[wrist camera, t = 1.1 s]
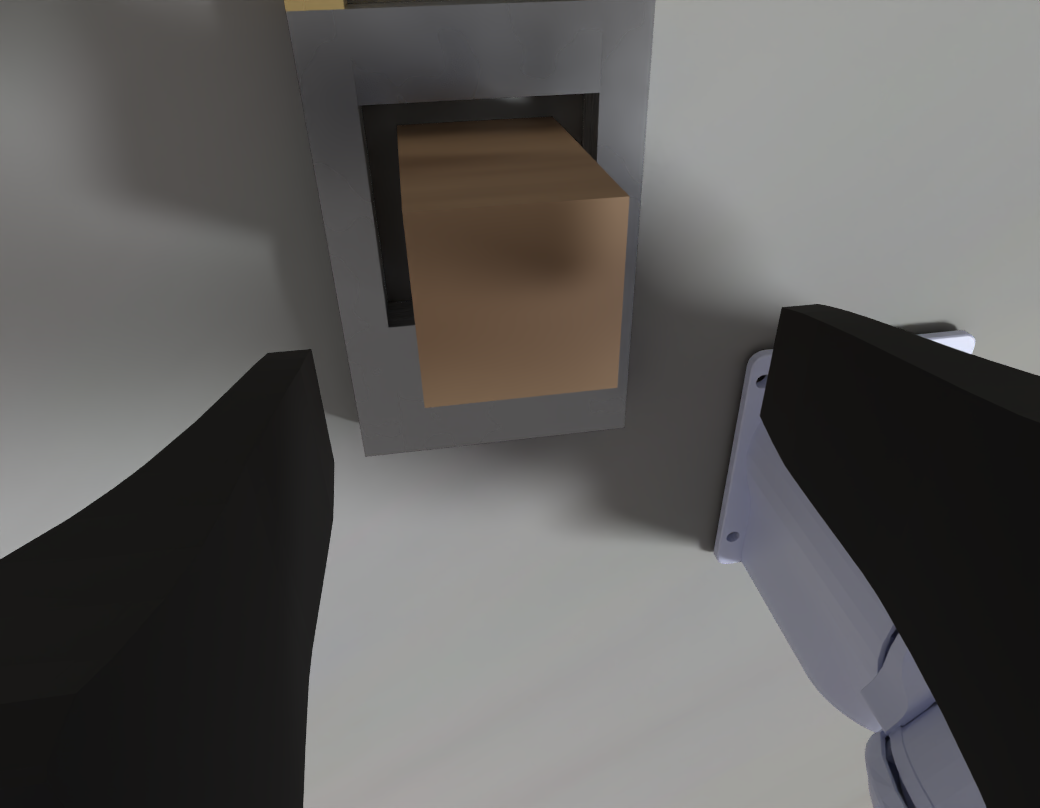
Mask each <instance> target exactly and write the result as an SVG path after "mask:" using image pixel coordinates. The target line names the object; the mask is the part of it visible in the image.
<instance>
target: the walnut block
mask: <svg viewBox="0 0 1040 808" xmlns="http://www.w3.org/2000/svg"><path fill="white" fill-rule="evenodd" d="M397 138H398V154H399V170H400V185H401V201H402V215H403V224H404V232H405V241H406V250H407V258H408V267H409V276H410V284H411V293H412V302H413V310H414V319H415V328H416V337H417V345H418V354H419V363H420V371H421V380H422V389H423V397H424V406H425V408H430V407H439V406H449V405H458V404H468V403H477V402H487V401H496V400H506V399H515V398H525V397H534V396H544V395H553V394H563V393H572V392H582V391H591V390H601V389H610V388H617V385H618V370H619V354H620V339H621V323H622V307H623V292H624V276H625V260H626V245H627V229H628V213H629V198H630V196H629V195H628V194H627V193H626V192H625V191H624V190H623V189H622V188H621V187H620V186H619V185H618V184H617V183H616V182H615V181H614V180H613V179H612V178H611V177H610V176H609V175H608V174H607V173H606V171H605V170H604V169H603V168H602V167H601V166H600V165H599V164H598V163H597V162H596V161H595V160H594V159H593V158H592V157H591V156H590V155H589V154H588V153H587V152H586V151H585V150H584V149H583V148H582V147H581V146H580V145H579V143H578V142H577V141H576V140H575V139H574V138H573V137H572V136H571V135H570V134H569V133H568V132H567V131H566V130H565V129H564V128H563V127H562V126H561V125H560V124H559V123H558V122H557V121H556V120H555V119H554V118H553V117H552V116H549V117H531V118H514V119H496V120H479V121H461V122H443V123H426V124H408V125H397Z"/></svg>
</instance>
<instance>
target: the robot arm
mask: <svg viewBox="0 0 1040 808" xmlns="http://www.w3.org/2000/svg"><path fill="white" fill-rule="evenodd" d="M975 342H976V341H975V338H974V337H973V336H972V335H971V334H969V333H968V332H966V331H964V330H956V331H947V332H937V333H927V334H917V335H916V334H913V333H910V332H907V331H904V330H902V329H899V328H896V327H893V326H890V325H888V324H885V323H882V322H879V321H876V320H873V319H870V318H868V317H864V316H861V315H858V314H855V313H852V312H849V311H845V310H842V309H838V308H834V307H830V306H825V305H821V304H814V305H803V306H792V307H782V309H781V314H780V319H779V324H778V329H777V333H776V338H775V343H774V348H773V349H768V350H762V351H758V352H757V353H755V354H754V355H753V356H752V357H751V358H750V359H749V361H748V364H747V368H746V374H745V380H744V385H743V391H742V396H741V402H740V407H739V413H738V419H737V424H736V430H735V435H734V441H733V446H732V452H731V458H730V463H729V469H728V474H727V480H726V485H725V491H724V497H723V502H722V508H721V513H720V519H719V524H718V530H717V536H716V541H715V547H714V555H715V557H716V559H717V560H718V562H720V563H722V564H729V563H736V562H742V563H743V565H744V567H745V568H746V570H747V572H748V573H749V575H750V577H751V579H752V580H753V582H754V584H755V586H756V587H757V589H758V591H759V593H760V594H761V596H762V598H763V600H764V601H765V603H766V605H767V606H768V608H769V610H770V612H771V613H772V615H773V617H774V619H775V620H776V622H777V624H778V626H779V627H780V629H781V631H782V633H783V634H784V636H785V638H786V640H787V641H788V643H789V645H790V646H791V648H792V650H793V652H794V653H795V655H796V657H797V659H798V660H799V662H800V664H801V666H802V667H803V669H804V671H805V673H806V674H807V676H808V678H809V679H810V680H811V682H812V683H813V685H814V686H815V687H816V689H817V690H818V691H819V692H820V693H821V694H822V695H823V696H824V698H825V699H826V700H828V701H829V702H830V703H831V704H832V705H833V706H834V707H835V708H837V709H838V710H839V711H840V712H842V713H843V714H844V715H846V716H847V717H849V718H850V719H852V720H853V721H855V722H856V723H858V724H860V725H861V726H863V727H865V728H867V729H869V730H871V731H873V732H875V733H874V734H873V735H872V736H871V737H870V739H869V740H868V742H867V744H866V749H865V761H866V769H867V773H868V785H869V792H870V796H871V800H872V804H873V807H874V808H1040V376H1038V375H1034V374H1031V373H1028V372H1025V371H1022V370H1018V369H1015V368H1012V367H1009V366H1006V365H1003V364H999V363H996V362H993V361H990V360H987V359H984V358H981V357H978V356H975V355H972V352H973V349H974V347H975ZM762 375H766V376H765V378H764V379H763V380H762V381H759V382H756V381H757V379H758V378H759V377H760V376H762ZM333 506H334V458H333V453H332V449H331V444H330V439H329V434H328V429H327V424H326V419H325V414H324V409H323V405H322V400H321V395H320V390H319V385H318V380H317V375H316V370H315V365H314V360H313V356H312V351H311V349H308V350H297V351H285V352H274V353H267V354H266V355H265V356H264V357H263V358H261V359H260V360H259V361H258V362H257V363H256V364H255V365H254V366H253V367H252V368H251V369H250V370H249V371H248V372H247V373H246V374H245V375H244V376H243V377H242V378H241V379H240V380H239V381H238V382H237V383H235V384H234V385H233V386H232V387H231V388H230V389H229V390H228V391H227V392H226V393H225V394H224V395H223V396H222V397H221V398H220V399H219V400H218V401H217V402H216V403H215V404H214V405H213V406H212V407H210V408H209V409H208V410H207V411H206V412H205V413H204V414H203V415H202V416H201V417H200V418H199V419H198V420H197V421H196V422H195V423H193V424H192V425H191V426H190V427H189V428H188V429H186V430H185V431H184V432H183V433H182V434H180V435H179V436H178V437H177V438H176V439H175V440H173V441H172V442H171V443H170V444H169V445H168V446H166V447H165V448H164V449H163V450H162V451H160V452H159V453H158V454H157V455H156V456H155V457H153V458H152V459H151V460H150V461H149V462H148V463H146V464H145V465H144V466H142V467H141V468H140V469H139V470H137V471H136V472H135V473H133V474H132V475H131V476H129V477H128V478H127V479H125V480H124V481H123V482H121V483H120V484H119V485H117V486H116V487H115V488H113V489H112V490H110V491H109V492H107V493H106V494H104V495H103V496H102V497H100V498H99V499H97V500H96V501H94V502H93V503H91V504H90V505H89V506H87V507H86V508H84V509H83V510H81V511H80V512H78V513H77V514H75V515H74V516H72V517H71V518H69V519H67V520H66V521H64V522H63V523H61V524H59V525H58V526H56V527H54V528H52V529H51V530H49V531H47V532H46V533H44V534H42V535H41V536H39V537H37V538H36V539H34V540H32V541H31V542H29V543H27V544H25V545H24V546H22V547H20V548H19V549H17V550H15V551H14V552H12V553H10V554H9V555H7V556H5V557H4V558H2V559H0V808H303V796H304V770H305V745H306V725H307V706H308V686H309V674H310V665H311V657H312V648H313V642H314V636H315V630H316V624H317V617H318V611H319V605H320V599H321V593H322V587H323V580H324V574H325V568H326V562H327V555H328V549H329V543H330V536H331V530H332V523H333ZM732 532H733V533H732ZM730 533H732V534H730ZM728 534H729V535H728Z"/></svg>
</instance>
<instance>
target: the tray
mask: <svg viewBox="0 0 1040 808" xmlns="http://www.w3.org/2000/svg"><path fill="white" fill-rule="evenodd" d="M284 4H285V9H286V15H287V21H288V26H289V32H290V37H291V43H292V49H293V54H294V60H295V65H296V71H297V77H298V82H299V88H300V93H301V99H302V104H303V110H304V116H305V121H306V127H307V132H308V138H309V144H310V149H311V155H312V160H313V166H314V172H315V177H316V183H317V188H318V194H319V200H320V205H321V211H322V216H323V222H324V227H325V233H326V239H327V244H328V250H329V255H330V261H331V267H332V272H333V278H334V283H335V289H336V295H337V300H338V306H339V311H340V317H341V323H342V328H343V334H344V339H345V345H346V350H347V356H348V362H349V367H350V373H351V378H352V384H353V390H354V395H355V401H356V406H357V412H358V418H359V423H360V429H361V434H362V440H363V446H364V451H365V457H367V456H376V455H385V454H393V453H402V452H411V451H420V450H429V449H438V448H447V447H456V446H465V445H474V444H483V443H492V442H501V441H510V440H518V439H527V438H536V437H545V436H554V435H563V434H572V433H581V432H590V431H599V430H608V429H617V428H624V424H625V410H626V397H627V383H628V369H629V356H630V342H631V328H632V314H633V301H634V287H635V273H636V260H637V246H638V232H639V218H640V205H641V191H642V177H643V164H644V150H645V136H646V123H647V109H648V95H649V81H650V68H651V54H652V40H653V27H654V13H655V0H438V1H410V2H383V3H355V4H348V2H347V0H284ZM565 94H583V130H582V148H583V149H584V150H585V151H586V152H587V153H588V154H589V155H590V156H591V157H592V158H593V159H594V160H595V161H596V162H597V163H598V164H599V165H600V166H601V167H602V168H603V169H604V170H605V171H606V173H607V174H608V175H609V176H610V177H611V178H612V179H613V180H614V181H615V182H616V183H617V184H618V185H619V186H620V187H621V188H622V189H623V190H624V191H625V192H626V193H627V194H628V195H629V196H630V198H629V213H628V229H627V245H626V260H625V276H624V292H623V307H622V323H621V339H620V354H619V370H618V385H617V388H610V389H601V390H591V391H582V392H572V393H563V394H553V395H544V396H534V397H525V398H515V399H506V400H496V401H487V402H477V403H468V404H458V405H449V406H439V407H430V408H425V406H424V397H423V389H422V380H421V371H420V363H419V354H418V345H417V337H416V328H415V319H414V310H413V302H412V301H401V302H389V303H388V297H387V289H386V282H385V274H384V267H383V260H382V252H381V245H380V238H379V230H378V223H377V216H376V208H375V201H374V194H373V186H372V179H371V172H370V164H369V157H368V149H367V142H366V135H365V127H364V120H363V113H362V105H376V104H395V103H414V102H433V101H452V100H470V99H489V98H508V97H527V96H546V95H565Z"/></svg>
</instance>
